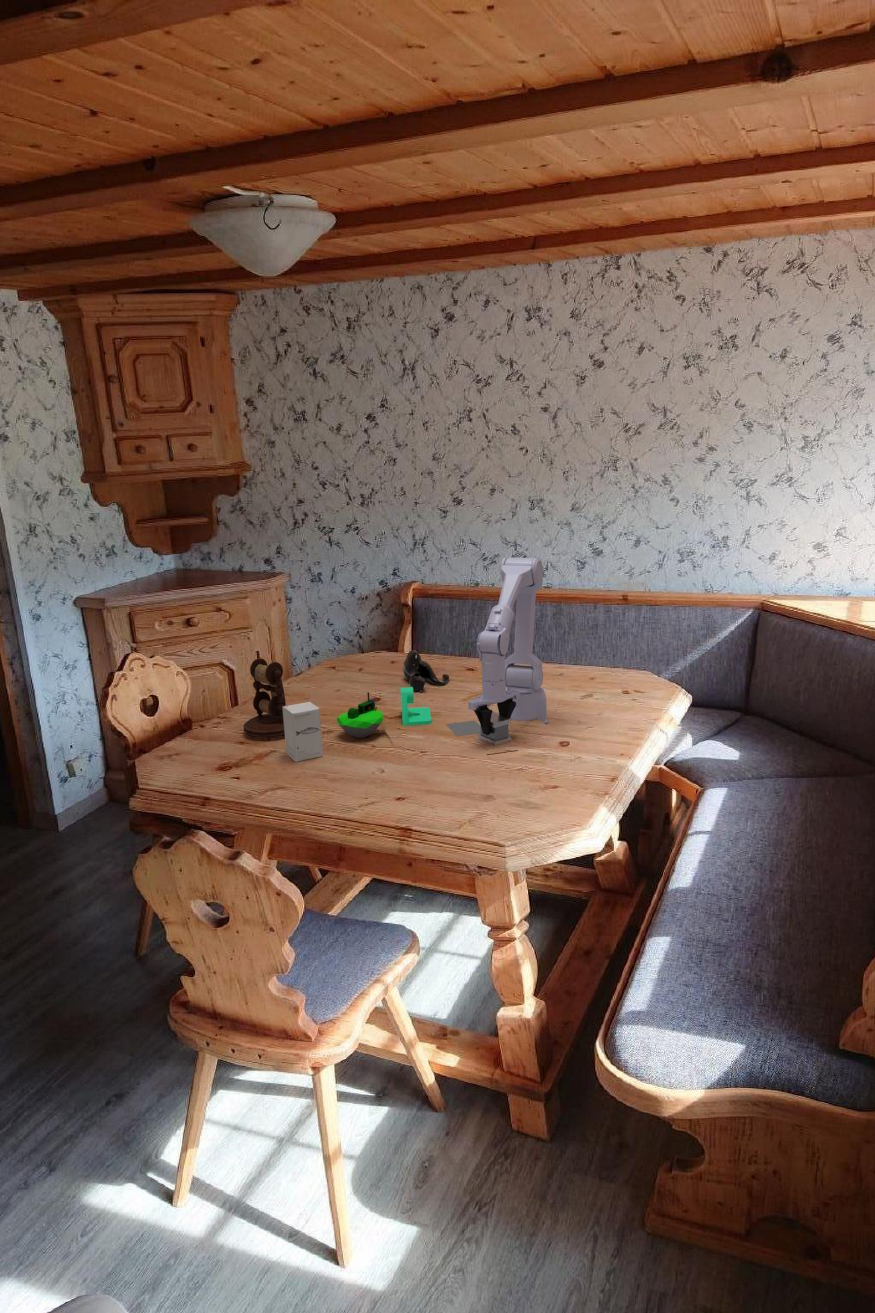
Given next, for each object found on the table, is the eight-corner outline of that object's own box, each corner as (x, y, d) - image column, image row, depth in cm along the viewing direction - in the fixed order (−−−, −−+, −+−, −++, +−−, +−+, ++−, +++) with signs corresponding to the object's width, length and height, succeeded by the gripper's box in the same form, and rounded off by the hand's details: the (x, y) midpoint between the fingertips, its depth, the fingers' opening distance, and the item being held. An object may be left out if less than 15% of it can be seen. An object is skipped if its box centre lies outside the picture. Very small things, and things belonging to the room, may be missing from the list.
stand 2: (504, 738, 235) (504, 732, 235) (517, 750, 226) (517, 745, 226) (474, 742, 233) (474, 736, 233) (486, 755, 224) (486, 749, 224)
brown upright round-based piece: (311, 730, 248) (305, 658, 243) (266, 745, 238) (259, 670, 233) (277, 719, 258) (270, 650, 253) (233, 734, 248) (225, 662, 242)
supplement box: (295, 763, 225) (291, 713, 222) (285, 753, 231) (281, 705, 228) (324, 756, 228) (320, 708, 225) (313, 748, 234) (309, 700, 231)
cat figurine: (439, 682, 296) (450, 708, 280) (398, 674, 293) (406, 700, 277) (448, 655, 293) (459, 679, 277) (406, 646, 289) (415, 670, 273)
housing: (493, 734, 234) (493, 712, 232) (511, 741, 228) (510, 718, 227) (478, 739, 231) (477, 716, 230) (495, 746, 225) (494, 723, 224)
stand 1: (474, 725, 246) (474, 720, 245) (486, 737, 236) (486, 732, 236) (446, 729, 244) (445, 724, 243) (456, 741, 234) (456, 736, 234)
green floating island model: (359, 726, 250) (356, 687, 247) (393, 732, 243) (390, 692, 241) (329, 739, 241) (325, 698, 238) (363, 746, 234) (360, 704, 231)
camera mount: (432, 730, 244) (430, 692, 242) (403, 731, 244) (401, 694, 241) (429, 715, 256) (428, 680, 253) (402, 717, 256) (400, 681, 253)
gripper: (506, 670, 232) (507, 721, 236) (460, 681, 225) (462, 733, 228) (524, 675, 227) (525, 728, 230) (477, 687, 219) (479, 741, 222)
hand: (495, 731), depth 229 cm, fingers closed on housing, 5 cm apart
